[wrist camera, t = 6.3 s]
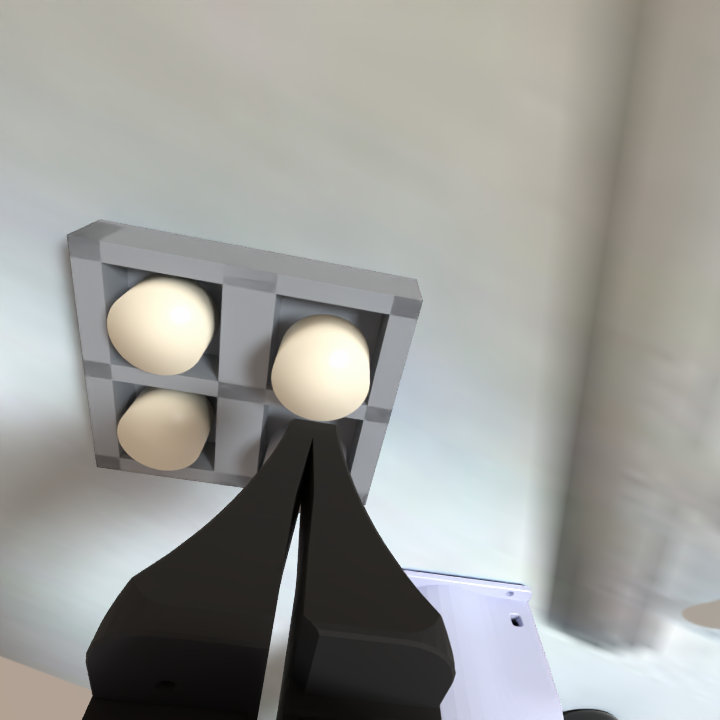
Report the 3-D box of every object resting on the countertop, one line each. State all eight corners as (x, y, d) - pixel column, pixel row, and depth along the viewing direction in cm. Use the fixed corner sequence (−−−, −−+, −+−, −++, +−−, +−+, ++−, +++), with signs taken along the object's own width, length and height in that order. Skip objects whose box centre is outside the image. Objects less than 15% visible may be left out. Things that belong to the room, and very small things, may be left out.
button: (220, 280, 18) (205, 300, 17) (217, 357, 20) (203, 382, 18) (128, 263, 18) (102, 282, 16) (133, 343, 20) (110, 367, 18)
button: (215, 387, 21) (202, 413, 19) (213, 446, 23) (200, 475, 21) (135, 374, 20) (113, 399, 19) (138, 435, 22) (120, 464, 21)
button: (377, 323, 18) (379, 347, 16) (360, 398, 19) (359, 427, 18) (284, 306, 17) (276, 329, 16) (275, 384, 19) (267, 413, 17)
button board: (416, 279, 19) (422, 300, 17) (365, 472, 25) (364, 505, 23) (99, 219, 18) (66, 234, 16) (119, 435, 24) (96, 466, 22)
